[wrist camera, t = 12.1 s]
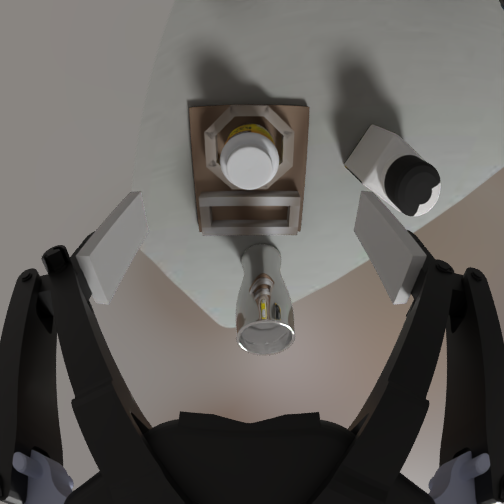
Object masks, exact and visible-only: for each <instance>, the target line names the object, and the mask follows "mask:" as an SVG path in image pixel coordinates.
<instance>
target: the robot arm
mask: <svg viewBox="0 0 504 504" xmlns="http://www.w3.org/2000/svg"><path fill="white" fill-rule="evenodd" d="M499 1H500V3H501V7H502V8H503V10H504V0H499ZM148 232H149V228H148V223H147V218H146V213H145V208H144V203H143V198H142V192H141V191H140V192H130V193H129V194H128V195H127V196H126V197H125V198H124V199H123V201H122V202H121V203H120V204H119V205H118V206H117V207H116V208H115V209H114V210H113V212H112V213H111V214H110V215H109V216H108V217H107V218H106V220H105V221H104V222H103V223H102V224H101V225H100V226H99V228H98V229H97V230H96V231H94V232H93V233H91V234H90V235H88V236H87V237H86V238H85V240H84V241H83V242H82V244H81V245H80V246H79V248H77V249H76V251H75V252H74V253H73V255H72V256H71V257H69V254H68V252H67V249H66V247H65V246H63V245H58V246H55V247H52V248H50V249H49V250H47V251H46V252H45V253H44V255H43V256H42V261H43V264H44V266H45V267H46V270H47V272H48V275H43V276H39V274H38V272H37V270H36V269H28V270H25V271H24V272H23V273H22V274H21V275H20V276H19V277H18V279H17V282H16V285H15V288H14V291H13V294H12V297H11V301H10V304H9V307H8V311H7V315H6V319H5V323H4V327H3V331H2V336H1V341H0V501H2V502H5V503H8V504H500V503H503V502H504V342H503V337H502V332H501V328H500V324H499V320H498V316H497V312H496V308H495V305H494V301H493V298H492V294H491V291H490V288H489V285H488V282H487V279H486V277H485V276H484V274H483V273H482V272H481V271H480V270H478V269H475V268H471V267H470V268H467V269H466V271H465V273H464V275H460V274H456V273H454V270H453V268H452V267H451V266H450V265H449V264H448V263H446V262H444V261H441V260H436V259H434V257H433V256H432V255H431V254H430V252H429V251H428V250H427V248H426V247H424V245H423V243H422V242H421V241H420V240H419V239H418V237H417V236H416V235H414V234H413V233H412V232H410V231H409V230H406V229H405V228H404V227H403V225H402V224H401V223H400V222H399V221H398V220H397V218H396V217H395V216H394V215H393V214H392V213H391V212H390V210H389V209H388V208H387V207H386V206H385V205H384V204H383V203H382V202H381V200H380V199H379V198H378V197H377V196H376V195H375V194H374V193H373V192H368V191H361V195H360V201H359V206H358V212H357V217H356V222H355V227H354V232H355V234H356V235H357V237H358V239H359V241H360V242H361V244H362V246H363V248H364V249H365V251H366V253H367V255H368V257H369V258H370V260H371V262H372V264H373V266H374V268H375V269H376V271H377V273H378V275H379V277H380V279H381V281H382V282H383V285H384V287H385V289H386V291H387V293H388V295H389V297H390V299H391V301H392V303H393V304H403V303H407V301H408V299H409V296H410V294H412V296H413V298H414V301H413V303H412V305H411V307H410V309H409V311H408V313H407V315H406V317H407V318H406V321H405V323H404V325H403V328H402V330H401V332H400V335H399V337H398V340H397V342H396V344H395V346H394V348H393V351H392V353H391V355H390V357H389V359H388V361H387V364H386V366H385V367H384V369H383V371H382V373H381V376H380V377H379V379H378V381H377V383H376V385H375V387H374V389H373V390H372V392H371V394H370V396H369V397H368V399H367V401H366V403H365V404H364V406H363V408H362V409H361V411H360V413H359V414H358V416H357V417H356V419H355V420H354V421H353V423H352V424H351V426H350V427H349V428H348V429H346V428H344V427H342V426H340V425H338V424H336V423H333V422H329V421H324V420H320V416H319V412H316V413H315V412H314V413H302V414H287V415H283V416H279V417H275V418H272V419H267V420H263V421H259V422H255V423H244V422H240V421H236V420H232V419H228V418H225V417H221V416H217V415H214V414H202V413H190V412H180V415H179V419H177V420H172V421H168V422H165V423H162V424H159V425H157V426H156V427H154V428H152V426H151V425H150V423H149V422H148V421H147V420H146V418H145V417H144V415H143V414H142V412H141V410H140V409H139V407H138V405H137V403H136V402H135V400H134V398H133V397H132V394H131V393H130V391H129V389H128V387H127V385H126V383H125V381H124V379H123V378H122V376H121V373H120V371H119V369H118V367H117V365H116V363H115V361H114V359H113V357H112V355H111V353H110V350H109V348H108V346H107V343H106V341H105V339H104V336H103V334H102V332H101V329H100V327H99V324H98V322H97V319H96V317H95V314H94V311H93V309H92V306H91V304H90V302H89V298H90V297H91V295H93V297H94V299H95V302H96V303H100V304H110V302H111V300H112V298H113V296H114V294H115V292H116V290H117V288H118V286H119V284H120V282H121V280H122V278H123V276H124V274H125V272H126V271H127V269H128V267H129V265H130V263H131V262H132V260H133V258H134V256H135V254H136V253H137V251H138V249H139V247H140V246H141V244H142V242H143V240H144V239H145V237H146V235H147V234H148ZM445 329H446V338H447V390H446V407H445V417H444V425H443V433H442V440H441V448H440V463H439V465H440V466H439V469H438V470H437V471H436V473H435V475H434V477H433V478H432V479H431V480H430V482H429V489H430V490H431V491H430V493H429V494H427V493H426V492H425V491H423V490H422V489H421V488H419V487H418V486H417V485H415V484H414V483H413V482H411V481H410V480H409V479H408V478H406V477H405V476H404V475H402V474H401V473H400V470H401V468H402V466H403V465H404V463H405V461H406V459H407V457H408V455H409V453H410V451H411V448H412V446H413V444H414V442H415V440H416V438H417V435H418V433H419V431H420V428H421V426H422V424H423V421H424V418H425V416H426V413H427V411H428V407H429V401H428V400H426V395H427V392H428V389H429V386H430V384H431V381H432V377H433V374H434V371H435V367H436V364H437V361H438V357H439V353H440V350H441V346H442V342H443V337H444V333H445ZM57 333H58V337H59V342H60V346H61V350H62V354H63V358H64V362H65V365H66V369H67V372H68V376H69V379H70V382H71V385H72V388H73V391H74V394H75V399H73V400H72V402H71V404H72V408H73V411H74V413H75V416H76V419H77V421H78V424H79V427H80V429H81V431H82V434H83V436H84V438H85V441H86V443H87V445H88V447H89V450H90V452H91V454H92V456H93V458H94V460H95V462H96V464H97V466H98V468H99V470H100V471H99V472H98V473H97V474H96V475H94V476H93V477H92V478H90V479H89V480H88V481H86V482H85V483H84V484H83V485H81V486H80V487H79V488H77V489H76V490H74V491H73V492H72V488H73V480H72V479H71V477H70V476H68V474H67V472H66V470H65V469H64V467H63V451H62V444H61V443H62V442H61V435H60V427H59V418H58V408H57V391H56V343H57Z"/></svg>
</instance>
